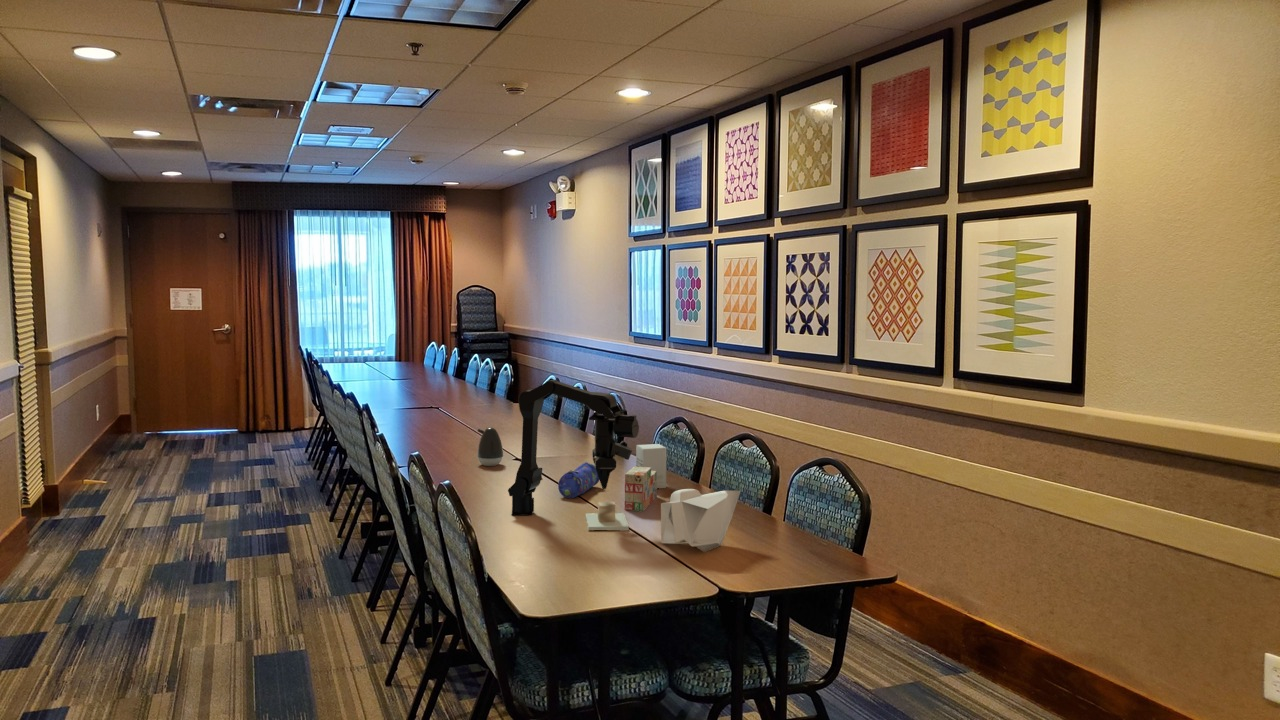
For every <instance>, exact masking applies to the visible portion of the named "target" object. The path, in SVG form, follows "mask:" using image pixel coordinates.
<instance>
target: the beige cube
mask: <svg viewBox="0 0 1280 720" xmlns="http://www.w3.org/2000/svg"><path fill="white" fill-rule="evenodd" d="M597 513H598V521H599V522H615V513H616V503H615V501H597Z"/></svg>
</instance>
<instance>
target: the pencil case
mask: <svg viewBox="0 0 1280 720" xmlns="http://www.w3.org/2000/svg"><path fill="white" fill-rule="evenodd" d="M598 483H600V480H599V477H598V474H597V471H596V468H595V464H592V463H589V462H584V463H582V464H580V465H579V466H578V467H576V468H575V469H574V470H571V469H570V470H569V471H568V472H566V473H564V474H563V475H562V476H561V477H560V478H559V480H558V485H557V486H558V492H559V493H560V496H562V497H564V498H565V497H566V499H574V498H576V497H578V496H581V495H583V494H584V493H586V492H587V491H589V490H590V489H591V488H592V487H594V486H597V484H598Z"/></svg>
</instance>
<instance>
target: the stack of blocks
mask: <svg viewBox="0 0 1280 720" xmlns="http://www.w3.org/2000/svg"><path fill="white" fill-rule="evenodd" d="M656 479H657V471H651V468H650V467H636V466H633V467H632V468H630V469H629V470H628V471H627V472H626V473H625V474H624V510H625V511H631V510H634V511H633V512H644V511H645V510H646V509H647V508H648V507H649V506H650V504H651V503H652V502H653V501H654V500H655V499H656V498H657V495H658V494H657V490H658V489H657V480H656ZM648 505H649V506H648ZM647 506H648V507H647ZM646 507H647V508H646ZM645 508H646V509H645Z"/></svg>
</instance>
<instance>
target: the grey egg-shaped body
mask: <svg viewBox="0 0 1280 720" xmlns="http://www.w3.org/2000/svg"><path fill="white" fill-rule="evenodd" d="M477 432H478V433H479V434H481V436H480V440H479V443H478V447H477V458H478V461H479V463H480V464H481V465H483V466H485V467H495V466H499V464H500V463H502V459H503V457H504V450H503V449H504V448H503V444H502V439H501V437H500V435H499V432H498V431H497V429H495V428H493V427H486V429H485V430H484V429H483V430H482V429H480V428H478V429H477Z"/></svg>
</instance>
